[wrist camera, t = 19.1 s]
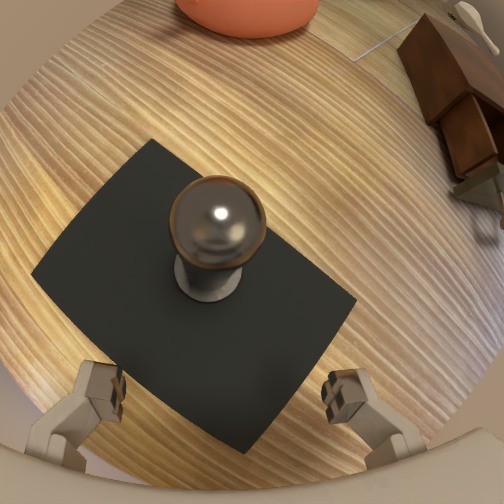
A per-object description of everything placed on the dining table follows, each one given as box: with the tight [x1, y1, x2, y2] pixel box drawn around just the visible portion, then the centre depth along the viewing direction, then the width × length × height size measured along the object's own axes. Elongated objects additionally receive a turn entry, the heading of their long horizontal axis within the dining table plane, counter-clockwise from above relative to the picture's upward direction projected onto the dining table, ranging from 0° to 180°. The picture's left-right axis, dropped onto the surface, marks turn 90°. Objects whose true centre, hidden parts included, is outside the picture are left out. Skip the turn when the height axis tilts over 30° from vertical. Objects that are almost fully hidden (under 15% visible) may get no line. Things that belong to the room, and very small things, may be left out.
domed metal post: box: [168, 175, 266, 304], centre depth 14 cm, size 4×4×12 cm
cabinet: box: [397, 13, 504, 131], centre depth 27 cm, size 15×15×9 cm
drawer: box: [439, 92, 504, 230], centre depth 24 cm, size 18×13×7 cm
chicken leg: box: [453, 1, 499, 55], centre depth 44 cm, size 8×18×8 cm, turn 52°
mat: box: [31, 139, 357, 454], centre depth 19 cm, size 20×14×1 cm
